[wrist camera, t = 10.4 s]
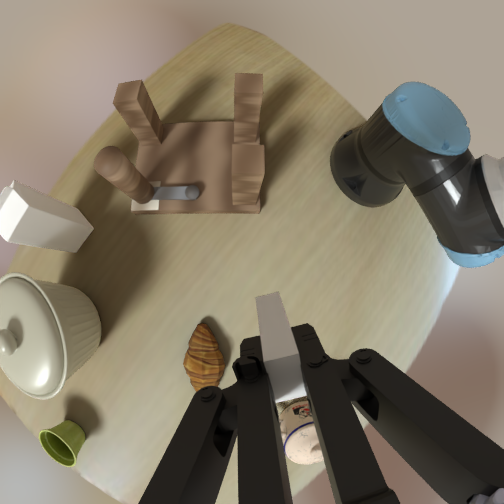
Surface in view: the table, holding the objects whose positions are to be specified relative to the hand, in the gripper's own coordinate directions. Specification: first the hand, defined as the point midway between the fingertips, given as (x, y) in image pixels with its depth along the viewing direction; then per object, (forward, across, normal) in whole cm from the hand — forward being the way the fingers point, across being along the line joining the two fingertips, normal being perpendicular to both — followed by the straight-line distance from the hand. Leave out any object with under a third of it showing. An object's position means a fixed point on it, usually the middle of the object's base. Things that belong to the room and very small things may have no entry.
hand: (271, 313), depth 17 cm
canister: (+22, -35, -7) cm, 42 cm away
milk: (+28, -31, +8) cm, 43 cm away
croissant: (+22, -13, -18) cm, 31 cm away
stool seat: (+32, -7, +12) cm, 35 cm away
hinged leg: (+27, -12, +9) cm, 31 cm away
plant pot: (+14, -47, -29) cm, 57 cm away
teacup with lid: (+17, -1, -33) cm, 37 cm away
